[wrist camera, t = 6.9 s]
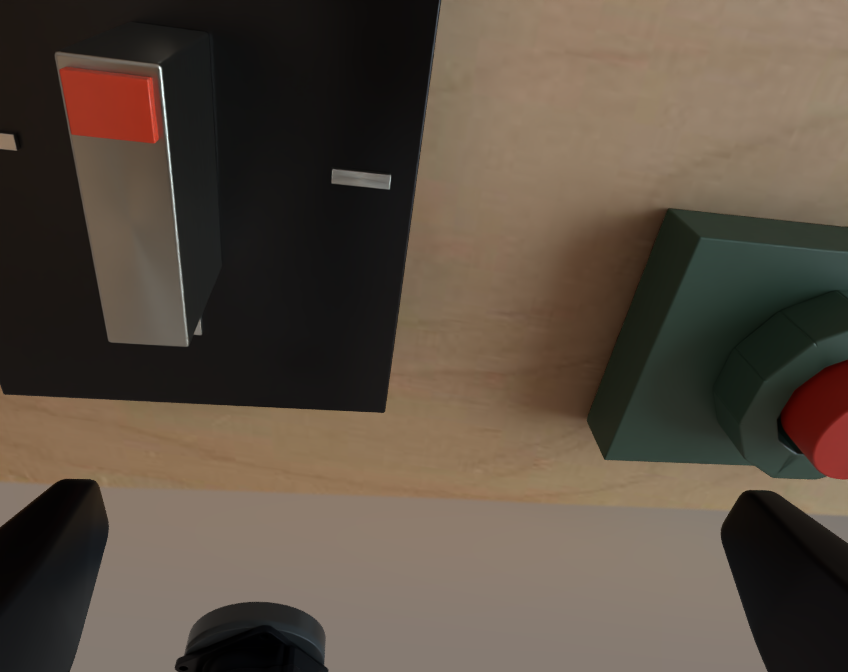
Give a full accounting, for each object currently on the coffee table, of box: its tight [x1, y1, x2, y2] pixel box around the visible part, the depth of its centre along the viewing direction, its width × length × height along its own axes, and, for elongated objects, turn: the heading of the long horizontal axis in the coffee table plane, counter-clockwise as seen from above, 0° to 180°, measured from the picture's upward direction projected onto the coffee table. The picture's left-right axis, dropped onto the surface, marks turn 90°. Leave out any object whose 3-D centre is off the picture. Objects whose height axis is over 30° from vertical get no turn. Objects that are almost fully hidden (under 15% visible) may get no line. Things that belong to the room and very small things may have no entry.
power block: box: [587, 208, 848, 479], centre depth 21 cm, size 12×9×4 cm
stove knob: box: [55, 22, 222, 347], centre depth 12 cm, size 6×2×4 cm, turn 172°
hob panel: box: [0, 0, 441, 413], centre depth 15 cm, size 15×11×3 cm
